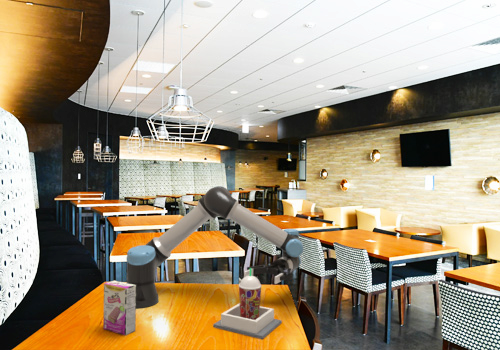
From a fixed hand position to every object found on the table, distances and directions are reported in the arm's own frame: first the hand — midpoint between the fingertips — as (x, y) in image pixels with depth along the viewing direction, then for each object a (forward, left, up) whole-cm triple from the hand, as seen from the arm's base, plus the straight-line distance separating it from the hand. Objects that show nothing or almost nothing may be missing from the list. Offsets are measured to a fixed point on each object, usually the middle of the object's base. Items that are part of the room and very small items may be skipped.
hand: (259, 277), depth 144 cm
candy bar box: (-36, -37, -15) cm, 54 cm away
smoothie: (+1, -10, -14) cm, 17 cm away
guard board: (+1, -10, -15) cm, 18 cm away
